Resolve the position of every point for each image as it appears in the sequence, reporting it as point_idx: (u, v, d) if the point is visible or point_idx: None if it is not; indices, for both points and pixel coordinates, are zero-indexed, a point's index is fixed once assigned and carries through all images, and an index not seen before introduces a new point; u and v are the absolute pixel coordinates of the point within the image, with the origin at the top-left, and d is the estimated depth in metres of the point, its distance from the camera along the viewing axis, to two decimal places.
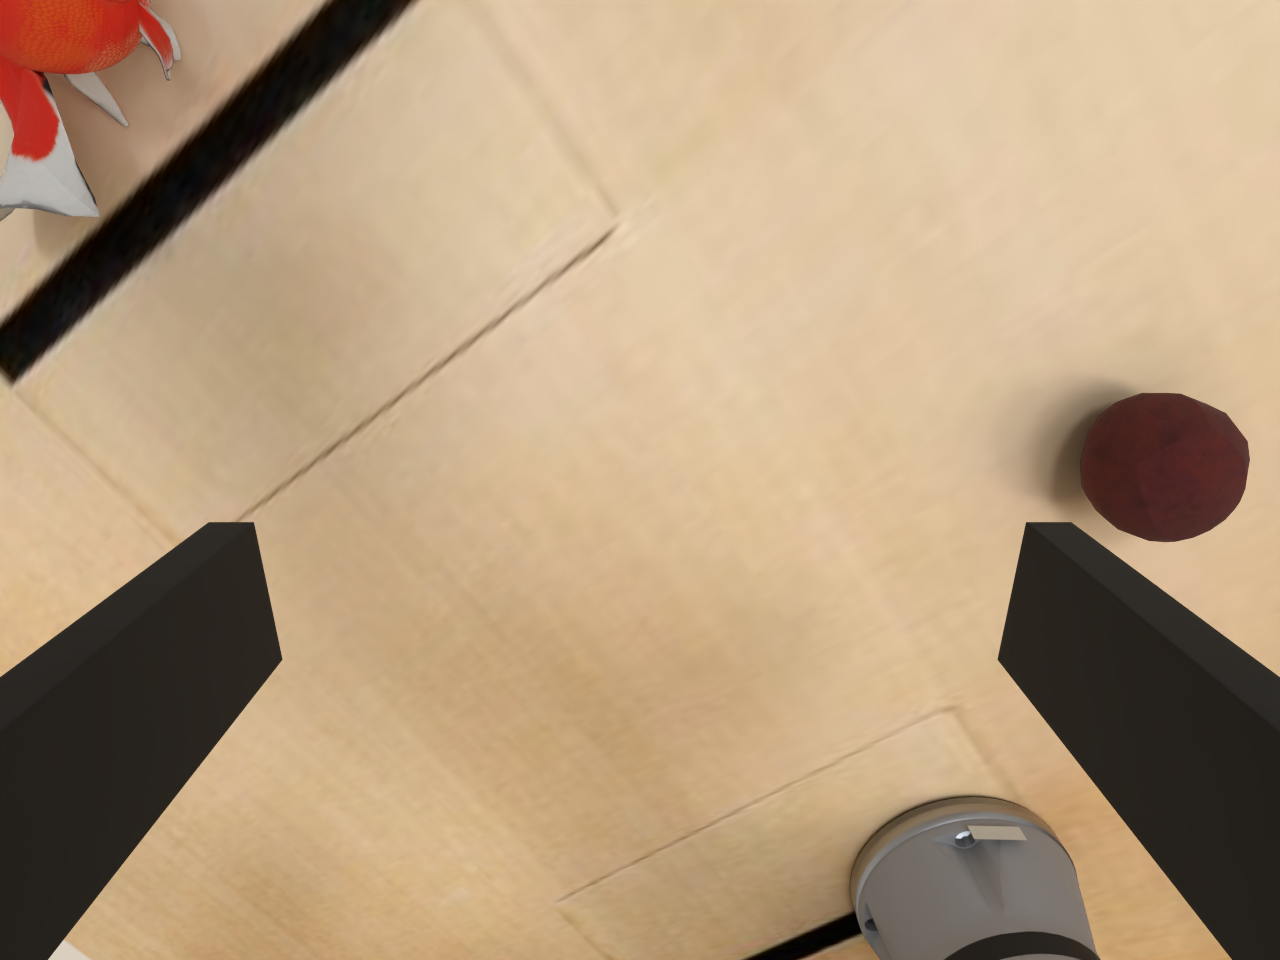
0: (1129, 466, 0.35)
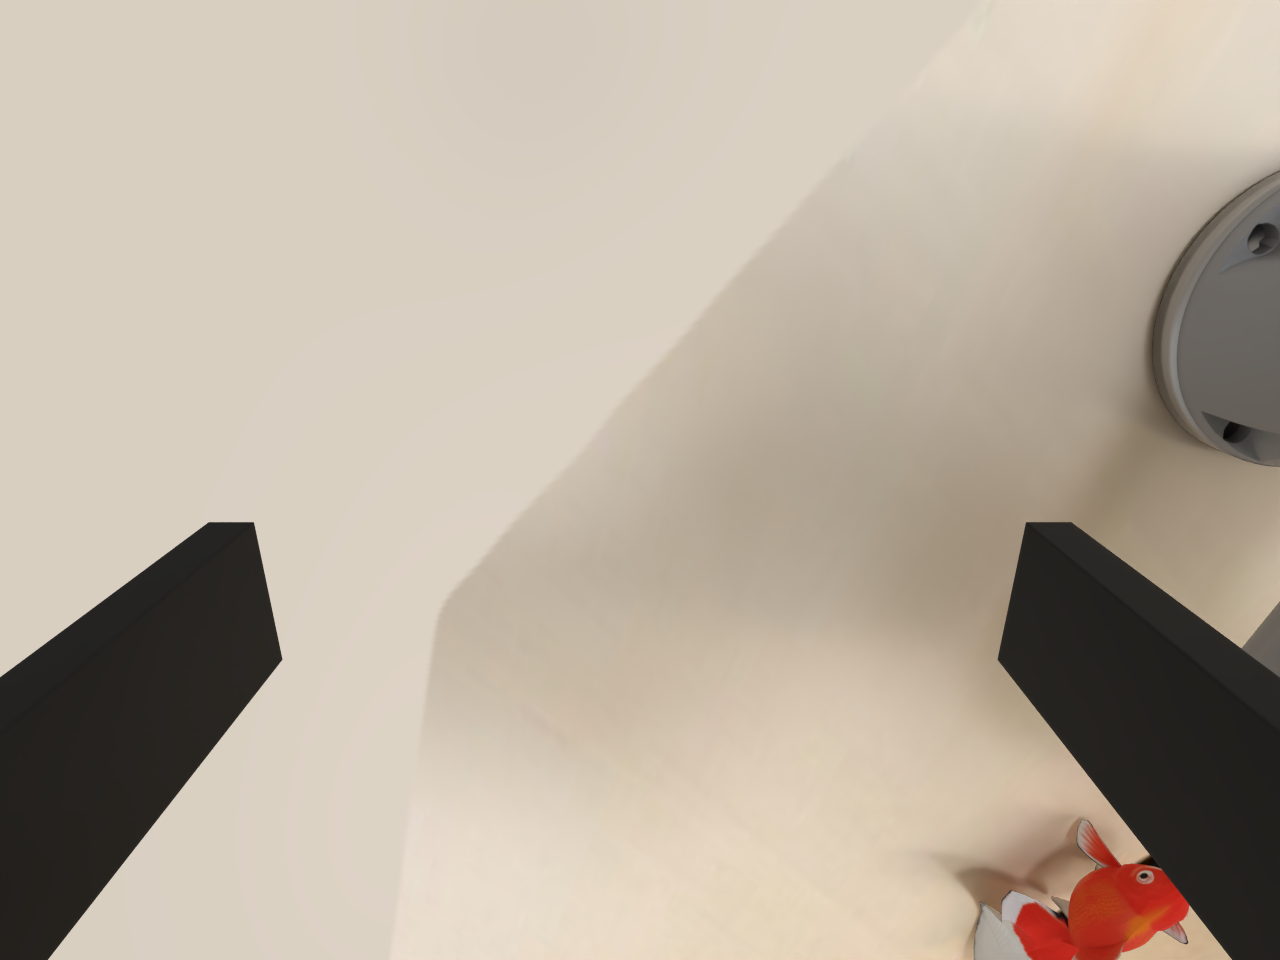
0: None
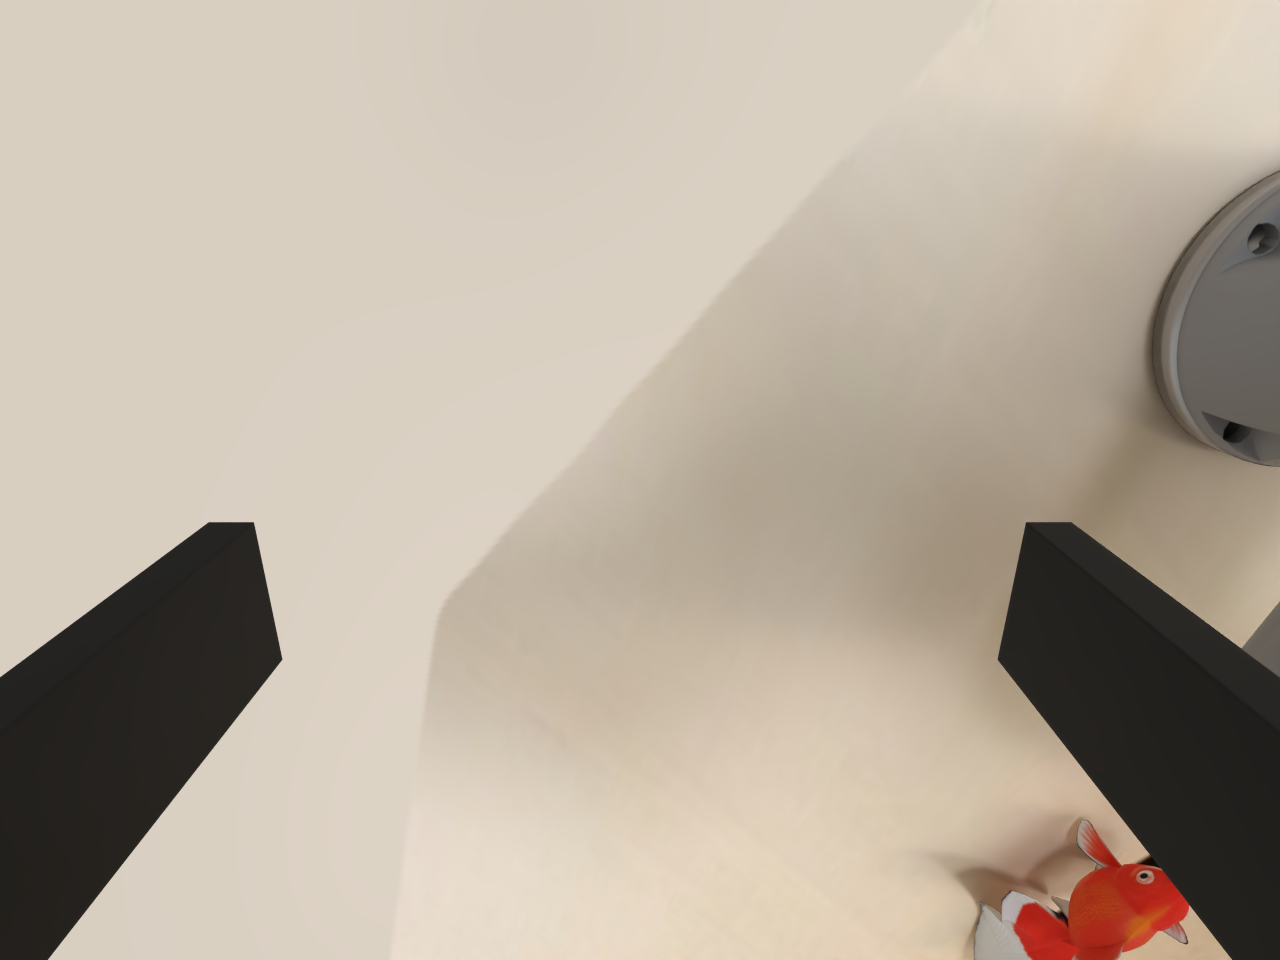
0: None
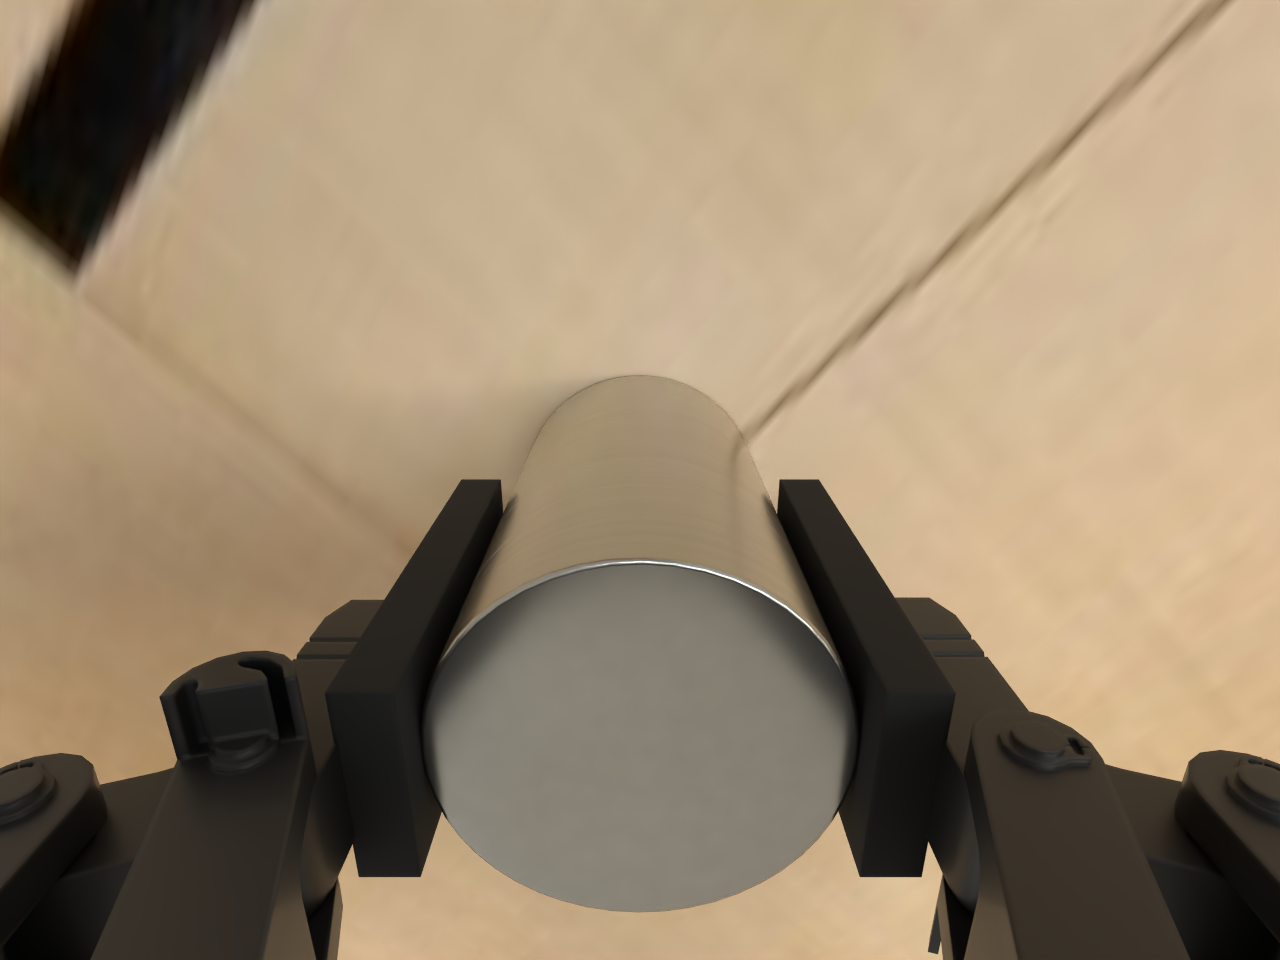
0: None
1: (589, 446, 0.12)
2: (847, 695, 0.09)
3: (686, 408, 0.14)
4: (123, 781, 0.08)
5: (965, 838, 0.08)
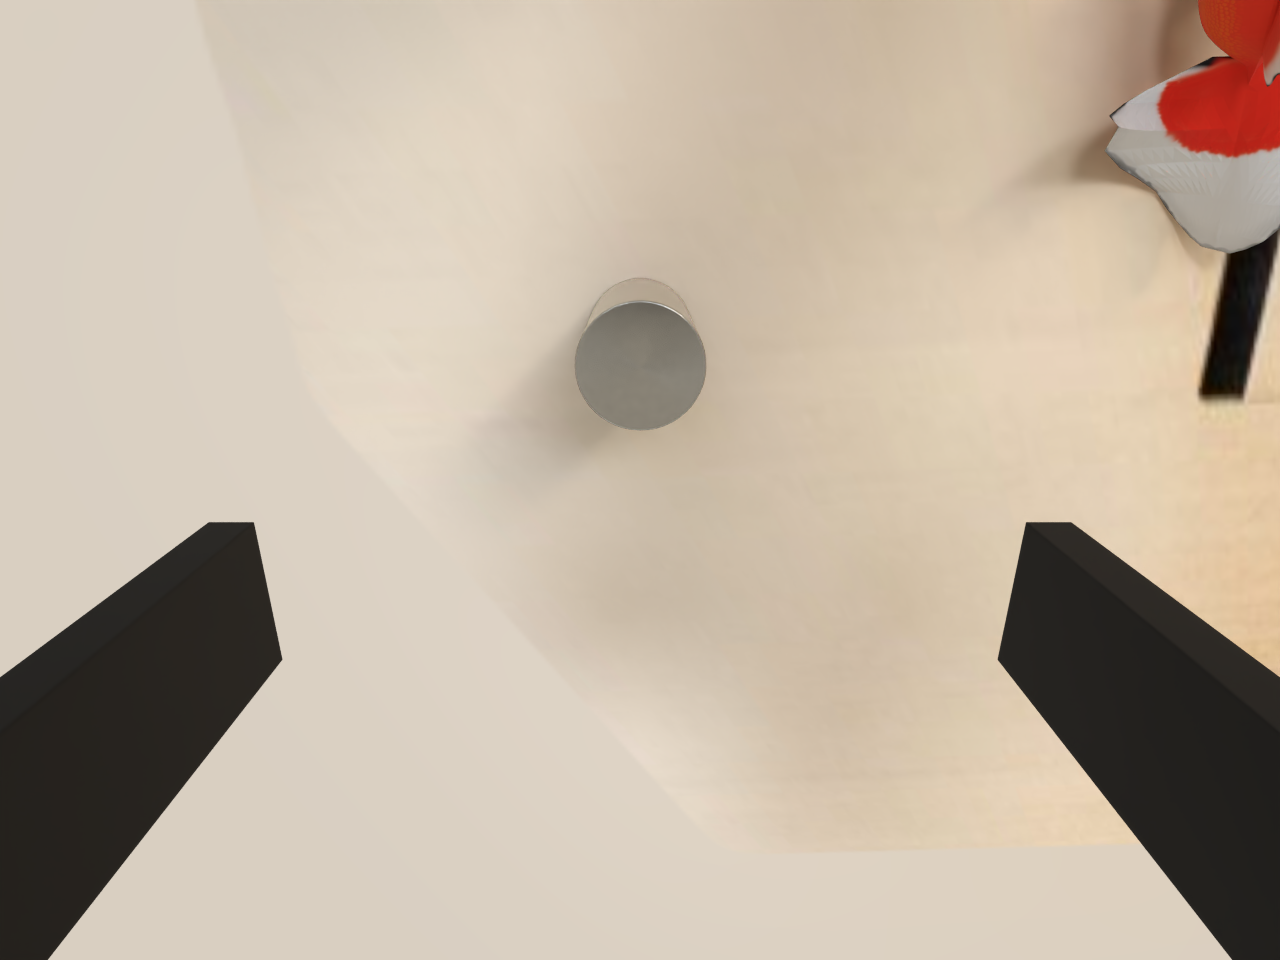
0: None
1: (622, 291, 0.33)
2: (701, 346, 0.29)
3: (659, 286, 0.35)
4: None
5: None
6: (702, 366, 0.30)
